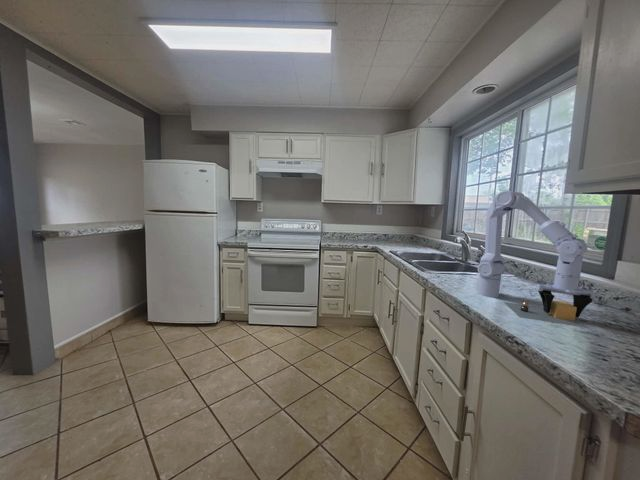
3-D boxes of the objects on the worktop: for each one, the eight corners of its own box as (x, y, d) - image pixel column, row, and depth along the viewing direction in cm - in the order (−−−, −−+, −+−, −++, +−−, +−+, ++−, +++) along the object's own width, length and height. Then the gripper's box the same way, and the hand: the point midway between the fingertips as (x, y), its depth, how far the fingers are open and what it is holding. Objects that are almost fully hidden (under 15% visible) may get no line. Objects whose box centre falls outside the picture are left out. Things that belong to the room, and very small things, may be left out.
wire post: (519, 309, 87) (520, 301, 87) (526, 310, 86) (527, 302, 86) (522, 311, 85) (523, 303, 85) (529, 312, 84) (530, 304, 84)
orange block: (547, 312, 85) (549, 299, 85) (565, 314, 84) (567, 302, 83) (555, 317, 81) (557, 304, 80) (574, 320, 79) (576, 307, 79)
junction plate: (502, 304, 94) (502, 301, 94) (561, 313, 88) (562, 310, 88) (519, 320, 80) (519, 317, 80) (590, 332, 74) (591, 328, 74)
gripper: (546, 274, 79) (540, 314, 81) (605, 281, 74) (597, 323, 76) (535, 270, 86) (530, 307, 87) (589, 275, 81) (582, 314, 83)
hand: (560, 314), depth 82 cm, fingers open, 7 cm apart
